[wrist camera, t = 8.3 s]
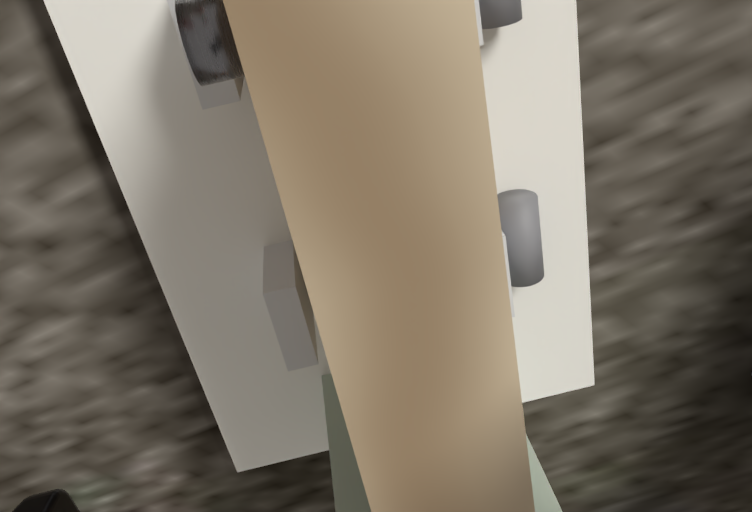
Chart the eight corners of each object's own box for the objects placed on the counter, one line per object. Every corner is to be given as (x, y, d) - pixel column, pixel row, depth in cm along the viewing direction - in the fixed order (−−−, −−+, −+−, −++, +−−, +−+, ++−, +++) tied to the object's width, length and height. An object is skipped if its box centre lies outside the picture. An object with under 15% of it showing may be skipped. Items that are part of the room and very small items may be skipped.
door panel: (367, -139, 15) (454, -165, 8) (447, 316, 20) (537, 538, 13) (184, -98, 15) (103, -86, 8) (316, 348, 20) (340, 587, 13)
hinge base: (534, -406, 14) (954, -879, 5) (579, 363, 24) (756, 632, 15) (-51, -280, 14) (-600, -570, 5) (238, 446, 23) (220, 769, 15)
